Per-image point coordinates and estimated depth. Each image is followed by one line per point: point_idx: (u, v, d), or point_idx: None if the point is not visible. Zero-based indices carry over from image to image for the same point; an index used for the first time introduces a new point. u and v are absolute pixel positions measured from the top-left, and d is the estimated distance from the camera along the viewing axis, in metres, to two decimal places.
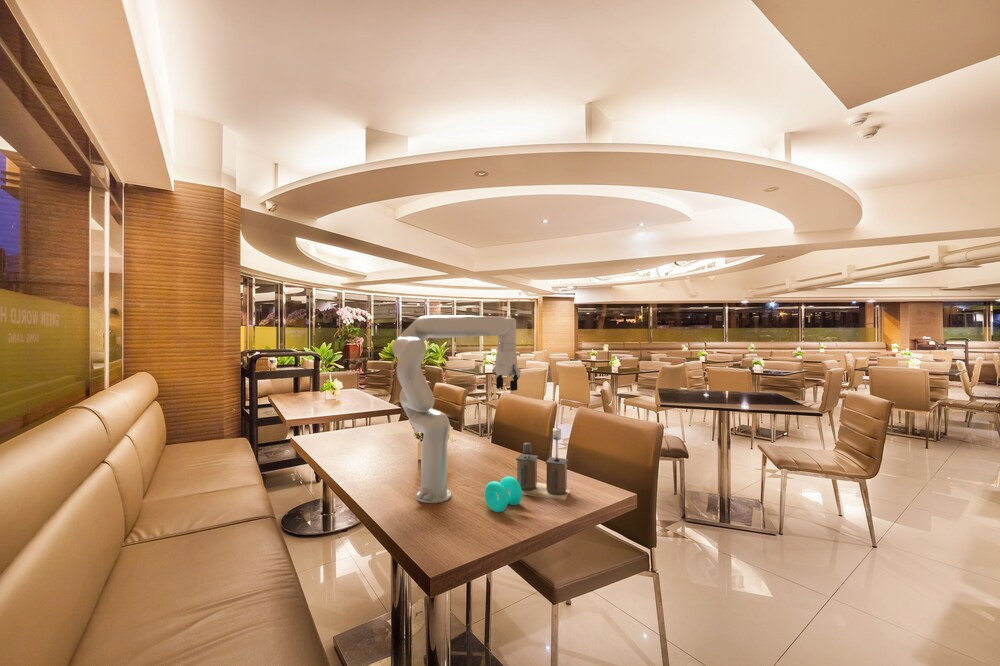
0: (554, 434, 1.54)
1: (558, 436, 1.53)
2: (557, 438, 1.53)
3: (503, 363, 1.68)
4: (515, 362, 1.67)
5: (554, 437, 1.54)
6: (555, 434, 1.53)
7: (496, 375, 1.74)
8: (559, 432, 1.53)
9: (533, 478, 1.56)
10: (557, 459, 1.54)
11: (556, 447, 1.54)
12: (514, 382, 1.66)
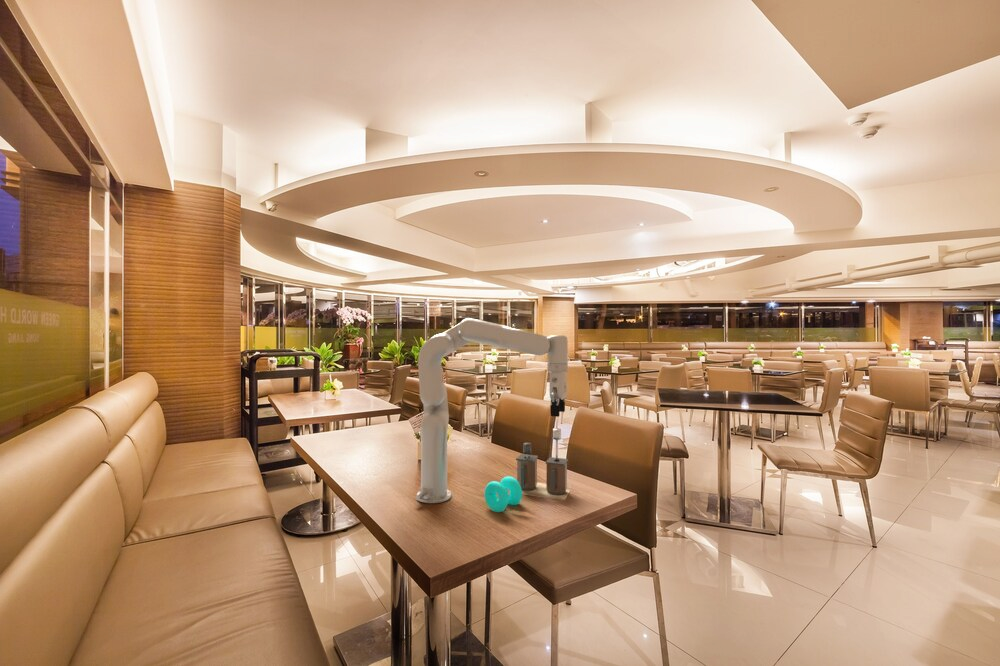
0: (554, 434, 1.54)
1: (558, 436, 1.53)
2: (557, 438, 1.53)
3: (565, 384, 1.55)
4: None
5: (554, 437, 1.54)
6: (555, 434, 1.53)
7: (558, 402, 1.49)
8: (559, 432, 1.53)
9: (533, 478, 1.56)
10: (557, 459, 1.54)
11: (556, 447, 1.54)
12: None
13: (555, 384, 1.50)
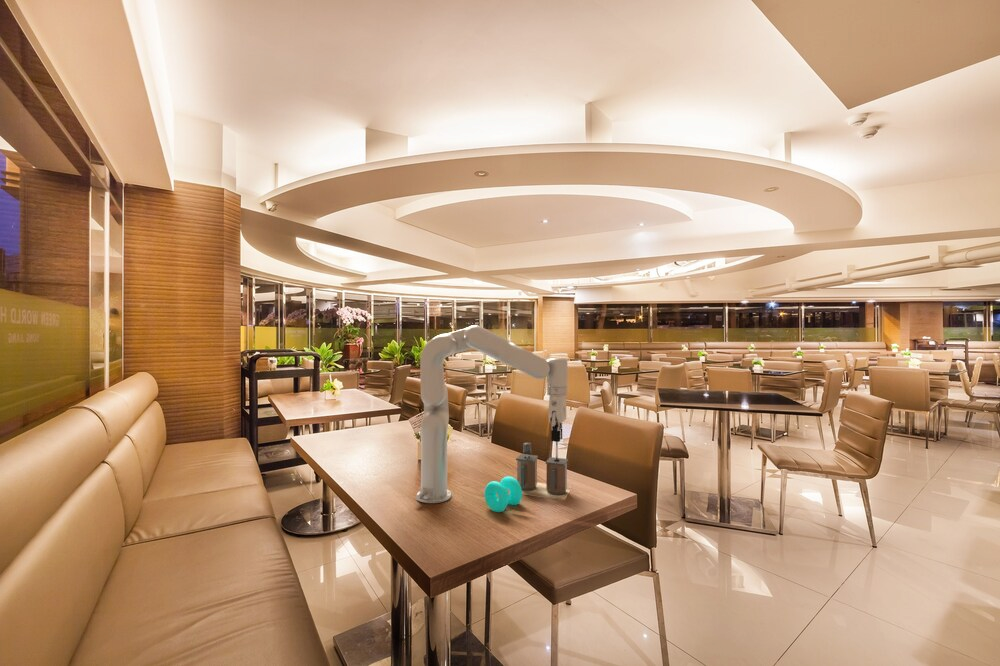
0: None
1: None
2: None
3: (565, 407, 1.55)
4: None
5: None
6: None
7: (558, 428, 1.51)
8: None
9: (533, 478, 1.56)
10: (557, 459, 1.54)
11: (556, 447, 1.54)
12: None
13: (554, 408, 1.50)
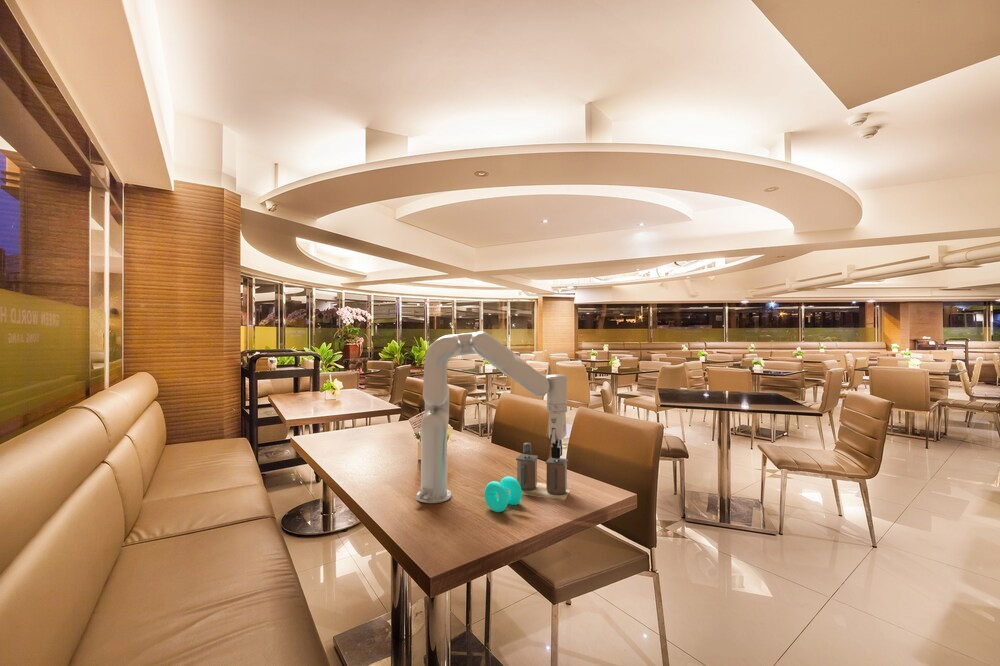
0: None
1: None
2: None
3: (565, 424, 1.55)
4: None
5: None
6: None
7: (558, 444, 1.51)
8: None
9: (533, 478, 1.56)
10: None
11: None
12: None
13: (554, 425, 1.50)
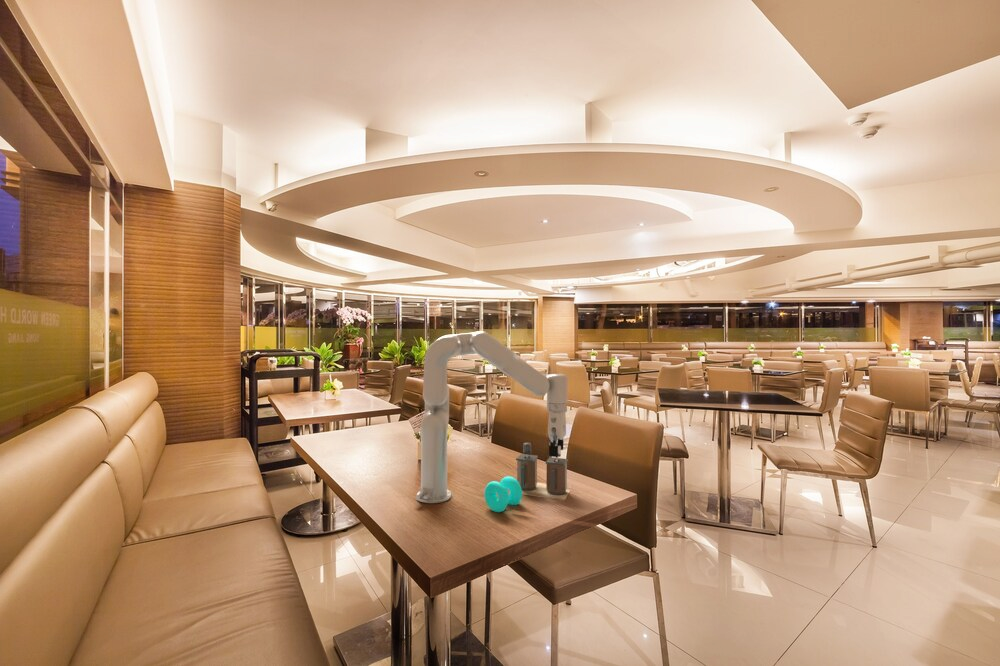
0: None
1: (558, 453, 1.53)
2: None
3: (564, 423, 1.55)
4: None
5: None
6: None
7: (556, 442, 1.49)
8: (559, 449, 1.53)
9: (533, 478, 1.56)
10: None
11: None
12: None
13: (554, 424, 1.50)
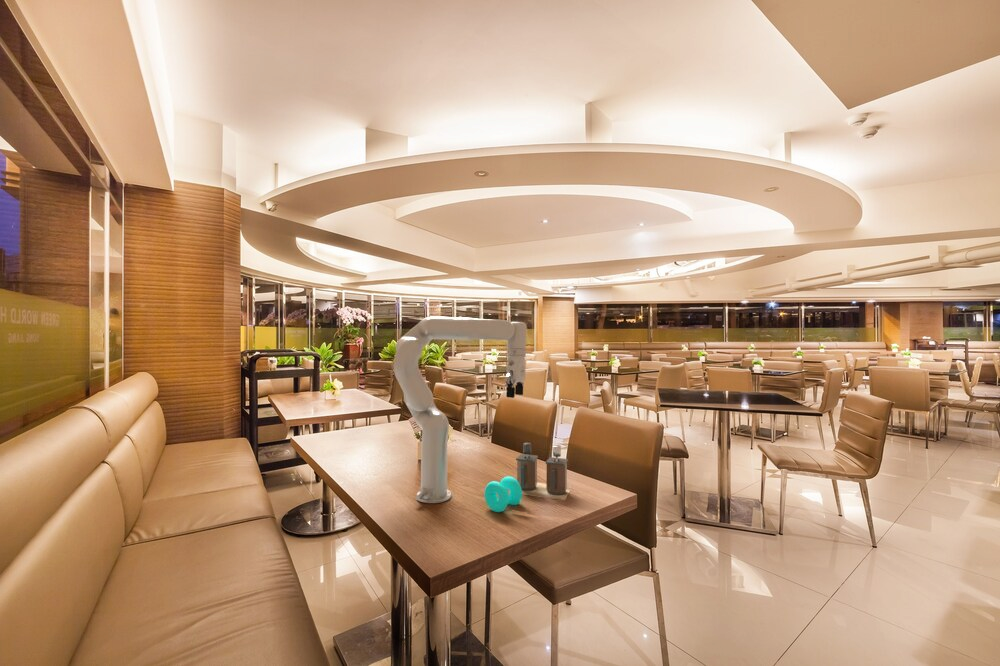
0: (554, 451, 1.53)
1: (558, 453, 1.53)
2: (557, 455, 1.53)
3: (523, 369, 1.65)
4: None
5: (554, 454, 1.53)
6: (555, 451, 1.53)
7: (513, 384, 1.59)
8: (559, 449, 1.53)
9: (533, 478, 1.56)
10: None
11: None
12: None
13: (512, 367, 1.60)
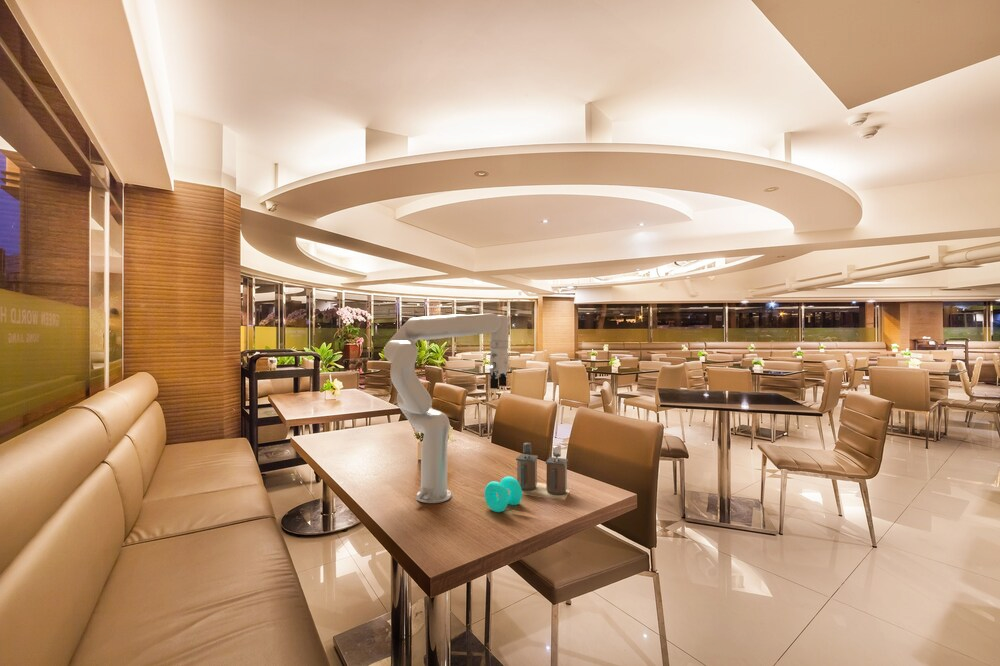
0: (554, 451, 1.53)
1: (558, 453, 1.53)
2: (557, 455, 1.53)
3: (506, 360, 1.69)
4: None
5: (554, 454, 1.53)
6: (555, 451, 1.53)
7: (497, 375, 1.63)
8: (559, 449, 1.53)
9: (533, 478, 1.56)
10: None
11: None
12: None
13: (495, 359, 1.64)
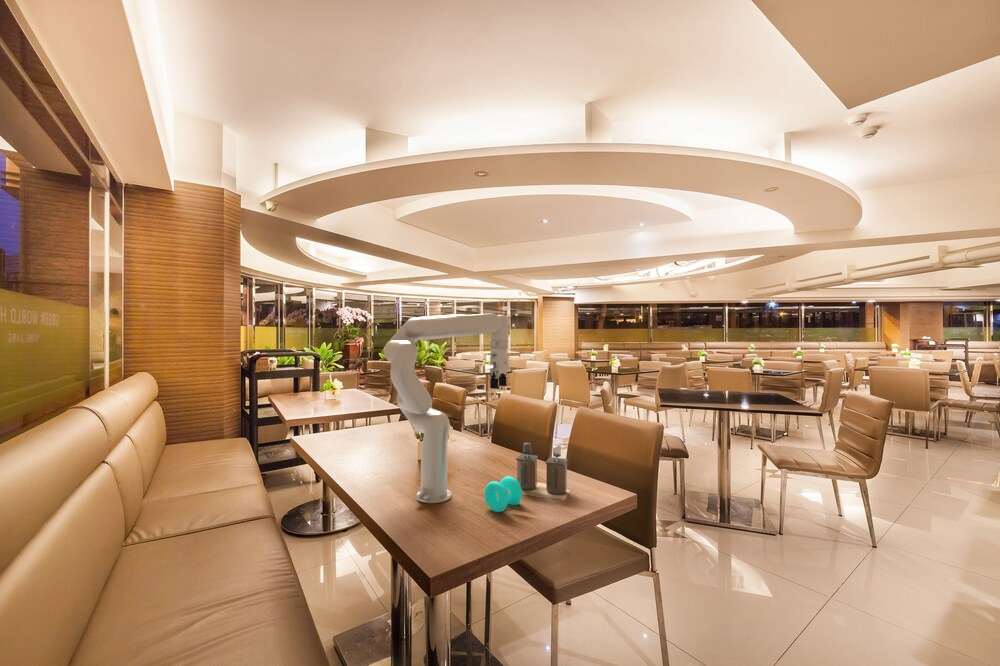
0: (554, 451, 1.53)
1: (558, 453, 1.53)
2: (557, 455, 1.53)
3: (506, 360, 1.69)
4: None
5: (554, 454, 1.53)
6: (555, 451, 1.53)
7: (497, 375, 1.63)
8: (559, 449, 1.53)
9: (533, 478, 1.56)
10: None
11: None
12: None
13: (495, 359, 1.64)
